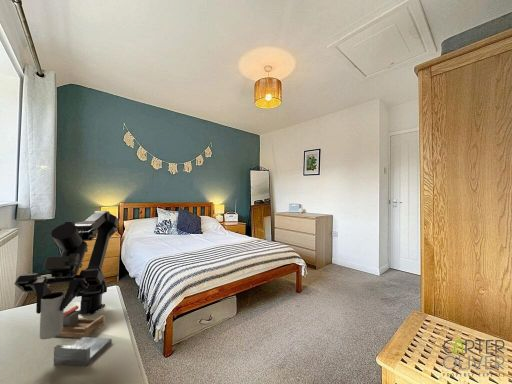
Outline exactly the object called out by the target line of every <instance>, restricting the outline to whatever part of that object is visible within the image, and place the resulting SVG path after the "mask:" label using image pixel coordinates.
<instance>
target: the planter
mask: <svg viewBox="0 0 512 384" xmlns="http://www.w3.org/2000/svg"><path fill="white" fill-rule="evenodd" d="M64 297H65V292H63V291H55V292H51V293H50V294H47V295H45V296H43V297H42V298H41V312H40V314H39V315H40V316H39V319H40V320H39V339H40V340H49V339H52V338H55V337H58V336H57V335H59V334H61V333H62V331H63V313H64V312H65V311H64V310H65V309H64V310H63V311H60V306H61V303H62V301H63V299H64Z"/></svg>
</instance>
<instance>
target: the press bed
mask: <svg viewBox="0 0 512 384" xmlns="http://www.w3.org/2000/svg"><path fill="white" fill-rule="evenodd" d="M112 340H113V339H112V338H105V337H104V338H103V337H90V336H89V337H82V338H79V340H78V341H76V342H75V343H73V344H72V345H67V344H66V345H63V344H57V345H56V346H54V347H53V365H65V366H79V367H80V366H84V367H87V366H88V365H90V363H92V361H94V360H95V359H96V358H97V357H98V356H99V355H100V354H101V353H102V352H103V351H105V349H106V348H108V347H109V346H110V345H111V343H112Z"/></svg>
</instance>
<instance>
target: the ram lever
mask: <svg viewBox="0 0 512 384" xmlns="http://www.w3.org/2000/svg"><path fill="white" fill-rule="evenodd" d="M79 308H80V307H79V306H78V305H75V306H74V307H71V308H69V309H67V310H66V311H64V312H63V326H64V327H73V326H74V325H76V324H77V323H78V318H79V314H80V313H79V310H78V309H79Z"/></svg>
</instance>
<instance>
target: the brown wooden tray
mask: <svg viewBox="0 0 512 384" xmlns="http://www.w3.org/2000/svg"><path fill="white" fill-rule="evenodd" d="M104 325H105V315H103V314H101V315H100V316H98V317H97V318H84V317H83V318H81V317H78V323H77V324H76V325H74V326H73V327H64V326H63V331H62V333H61V334H59V335H57V336H56V337H63V338H64V337H65V338H79V339H81V338H82V337H90V336H92V334H94V333H95V332H97V331H98V330H99V329H100V328H102V327H103V326H104Z"/></svg>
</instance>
